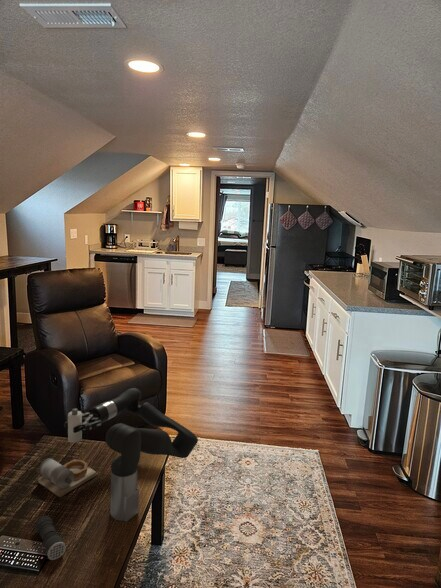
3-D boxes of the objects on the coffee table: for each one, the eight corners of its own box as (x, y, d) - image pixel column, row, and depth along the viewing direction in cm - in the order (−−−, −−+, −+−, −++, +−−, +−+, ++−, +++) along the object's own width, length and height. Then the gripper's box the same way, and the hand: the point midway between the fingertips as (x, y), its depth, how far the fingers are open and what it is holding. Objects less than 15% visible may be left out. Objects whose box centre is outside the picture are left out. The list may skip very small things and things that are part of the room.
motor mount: (98, 476, 167) (98, 457, 165) (61, 498, 153) (61, 478, 151) (74, 462, 175) (74, 444, 173) (38, 482, 161) (37, 463, 159)
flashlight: (34, 531, 137) (33, 517, 136) (50, 524, 140) (50, 511, 139) (48, 563, 125) (47, 547, 124) (66, 554, 129) (65, 539, 128)
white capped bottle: (84, 438, 165) (84, 409, 162) (73, 444, 160) (73, 414, 158) (76, 434, 167) (76, 405, 165) (65, 439, 163) (64, 410, 161)
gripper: (114, 425, 171) (80, 443, 157) (92, 415, 179) (58, 430, 165) (115, 409, 170) (80, 425, 156) (92, 399, 178) (57, 413, 164)
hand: (69, 427), depth 161 cm, fingers closed on white capped bottle, 5 cm apart
